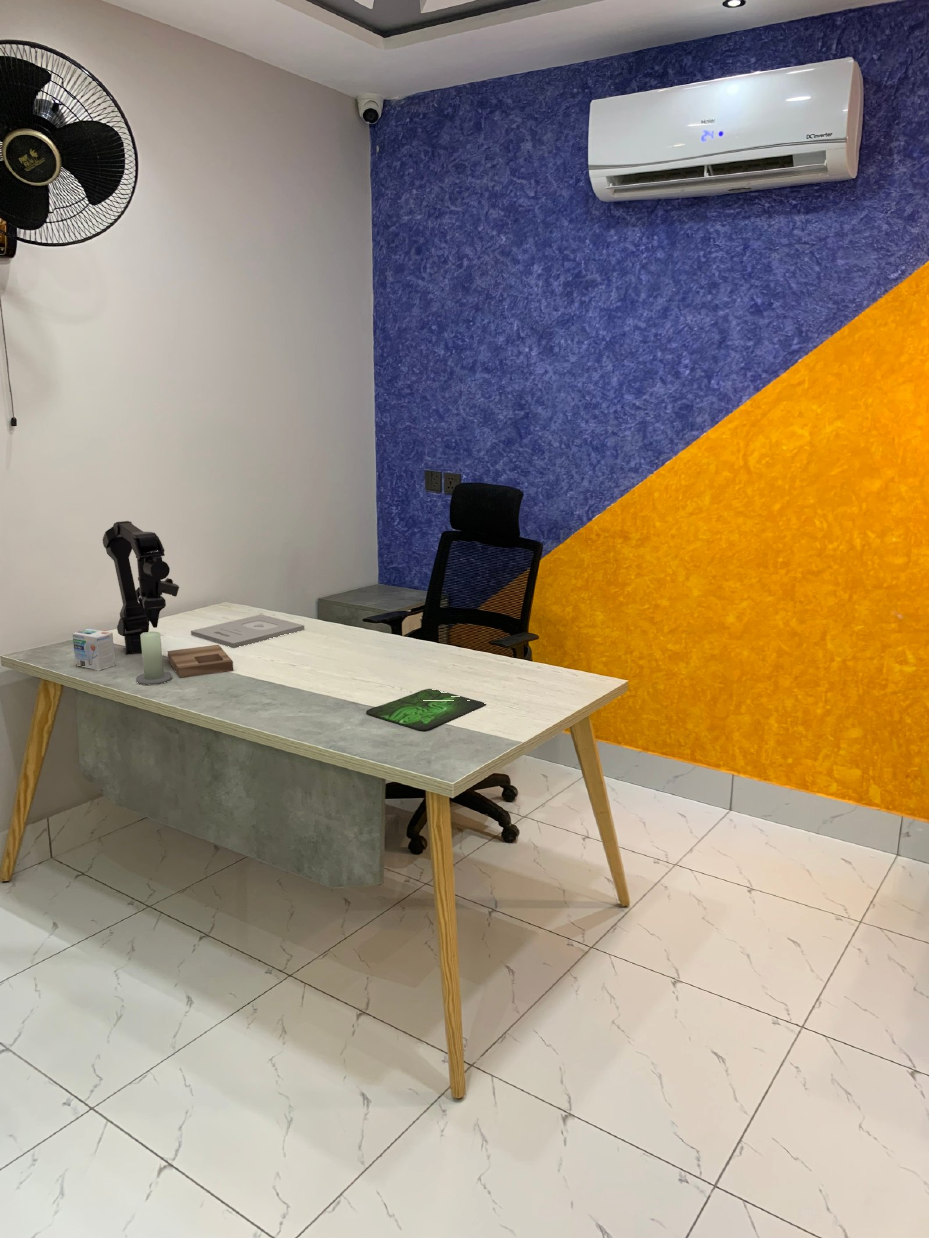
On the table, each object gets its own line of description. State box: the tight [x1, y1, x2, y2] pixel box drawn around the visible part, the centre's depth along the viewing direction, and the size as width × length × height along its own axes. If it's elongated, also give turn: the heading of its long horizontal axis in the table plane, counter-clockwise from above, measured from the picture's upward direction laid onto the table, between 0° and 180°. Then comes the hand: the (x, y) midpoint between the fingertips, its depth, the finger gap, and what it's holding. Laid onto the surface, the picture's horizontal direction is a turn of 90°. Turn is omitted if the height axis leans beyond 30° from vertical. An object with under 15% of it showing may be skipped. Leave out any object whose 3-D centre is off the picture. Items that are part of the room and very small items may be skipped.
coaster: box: [135, 671, 173, 686], centre depth 270 cm, size 10×10×1 cm
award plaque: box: [190, 614, 305, 649], centre depth 320 cm, size 25×30×2 cm
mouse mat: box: [365, 688, 487, 732], centre depth 246 cm, size 27×22×1 cm
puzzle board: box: [166, 644, 234, 679], centre depth 284 cm, size 20×16×3 cm
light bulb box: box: [72, 628, 116, 670], centre depth 282 cm, size 11×7×11 cm, turn 62°
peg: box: [140, 631, 165, 680], centre depth 268 cm, size 6×6×13 cm
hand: (152, 624), depth 282 cm, fingers open, 9 cm apart
